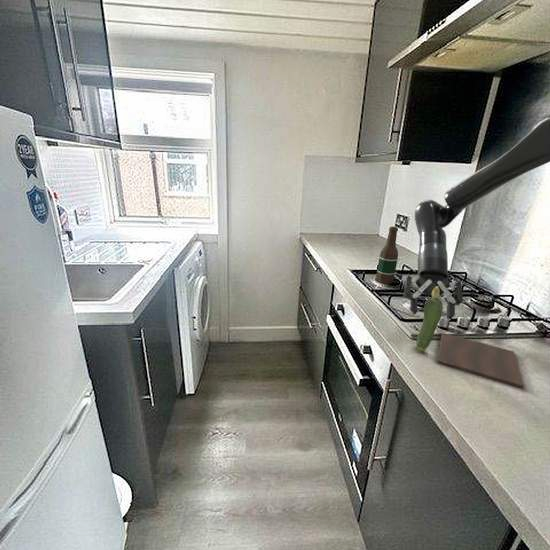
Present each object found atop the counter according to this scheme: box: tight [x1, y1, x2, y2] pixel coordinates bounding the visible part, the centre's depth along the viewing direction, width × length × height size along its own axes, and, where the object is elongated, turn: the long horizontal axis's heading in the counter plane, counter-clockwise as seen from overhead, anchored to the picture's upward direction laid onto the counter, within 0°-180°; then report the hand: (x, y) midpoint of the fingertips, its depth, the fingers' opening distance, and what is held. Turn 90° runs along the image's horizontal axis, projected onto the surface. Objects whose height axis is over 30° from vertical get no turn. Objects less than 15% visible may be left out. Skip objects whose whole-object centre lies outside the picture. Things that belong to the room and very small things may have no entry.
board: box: [437, 332, 524, 389], centre depth 82 cm, size 18×16×1 cm
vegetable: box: [415, 286, 444, 352], centre depth 81 cm, size 4×4×20 cm
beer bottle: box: [375, 226, 399, 285], centre depth 128 cm, size 8×8×24 cm
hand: (432, 315), depth 80 cm, fingers open, 8 cm apart
